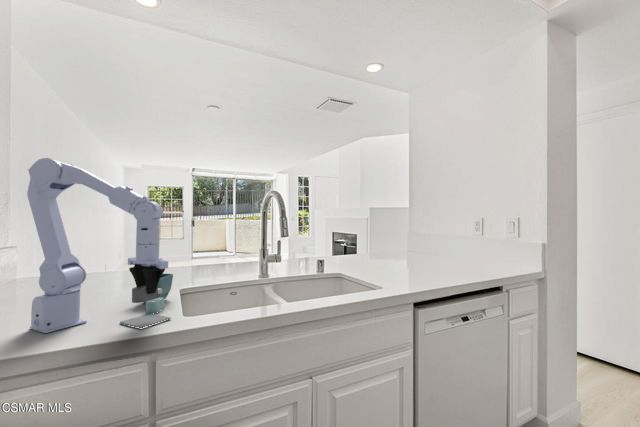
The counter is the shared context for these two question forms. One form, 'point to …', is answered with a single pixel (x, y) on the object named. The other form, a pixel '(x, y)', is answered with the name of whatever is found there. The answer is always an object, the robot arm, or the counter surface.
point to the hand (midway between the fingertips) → (146, 292)
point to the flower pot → (165, 285)
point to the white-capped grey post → (143, 294)
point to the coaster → (144, 320)
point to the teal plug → (155, 305)
